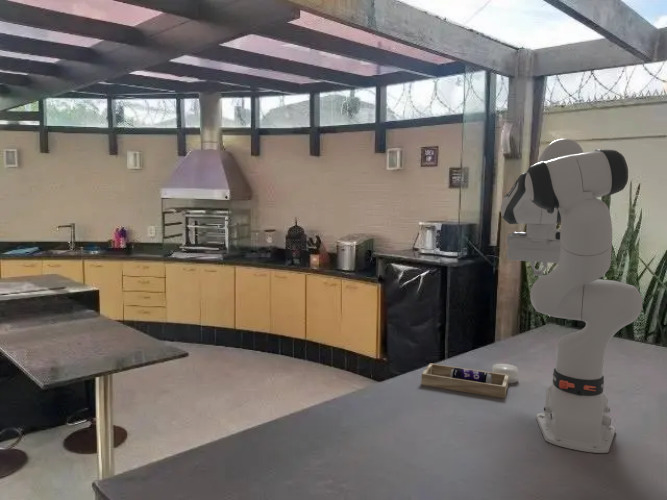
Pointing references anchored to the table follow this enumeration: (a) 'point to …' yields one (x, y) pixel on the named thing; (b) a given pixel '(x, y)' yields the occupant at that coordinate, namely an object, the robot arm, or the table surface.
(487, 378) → the beverage can
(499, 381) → the wooden tray
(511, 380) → the soap bar
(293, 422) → the table surface
